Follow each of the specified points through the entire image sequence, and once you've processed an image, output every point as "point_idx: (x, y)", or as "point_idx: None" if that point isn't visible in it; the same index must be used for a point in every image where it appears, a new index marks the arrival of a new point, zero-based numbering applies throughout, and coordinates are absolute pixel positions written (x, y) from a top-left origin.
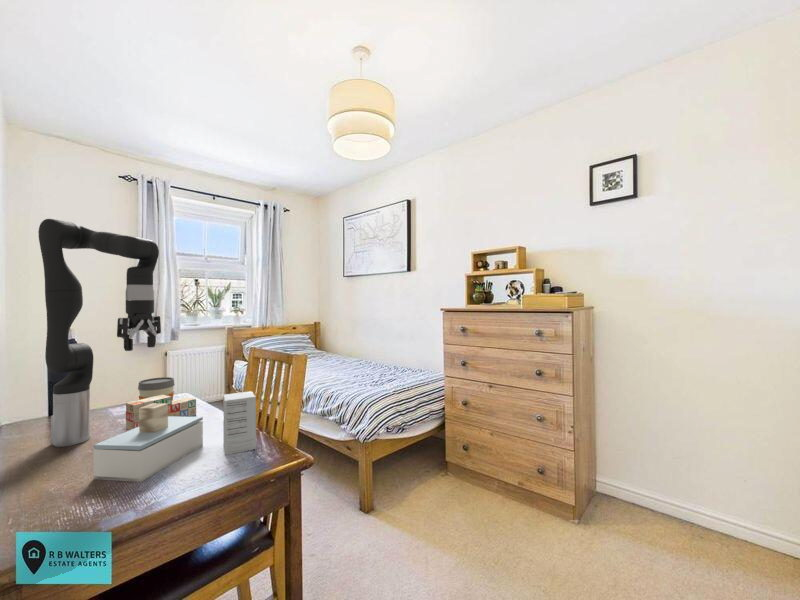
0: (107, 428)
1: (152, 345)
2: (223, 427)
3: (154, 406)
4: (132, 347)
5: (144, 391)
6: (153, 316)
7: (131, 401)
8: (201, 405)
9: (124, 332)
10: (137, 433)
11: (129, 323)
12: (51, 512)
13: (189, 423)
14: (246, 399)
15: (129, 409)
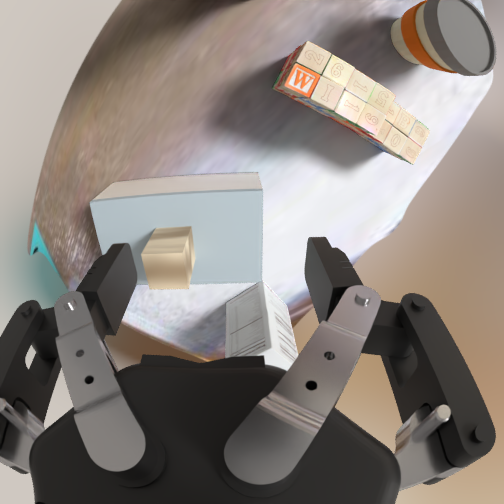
0: None
1: (306, 278)
2: (261, 303)
3: (160, 278)
4: (130, 292)
5: (423, 19)
6: (460, 467)
7: (320, 48)
8: (473, 103)
9: (39, 370)
10: (149, 230)
11: (66, 428)
12: (57, 217)
13: (221, 282)
14: None
15: (293, 62)
